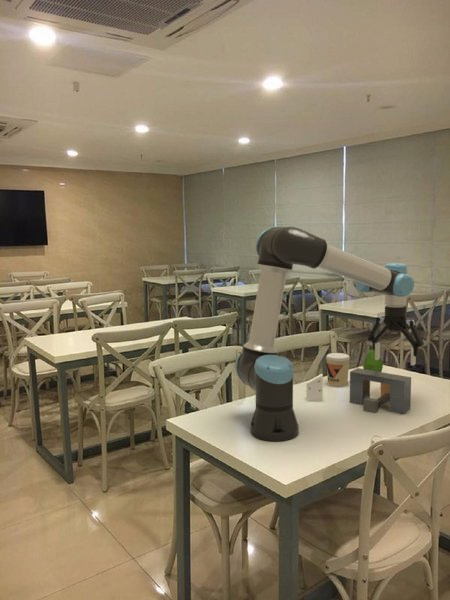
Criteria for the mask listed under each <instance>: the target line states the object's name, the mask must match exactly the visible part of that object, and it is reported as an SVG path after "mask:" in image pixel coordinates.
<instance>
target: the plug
mask: <svg viewBox="0 0 450 600" xmlns="http://www.w3.org/2000/svg"><path fill="white" fill-rule="evenodd" d="M379 396H380V397H378V398H373V397H370V398H369V397H367V398H365V399H363V405H362V409H363V411H364V412H367V413H373V414H375V413H377V412H378V411H379V408H381V407H382V406H384V405H385V404H387V403H388V402H389V403H390V384H384V383H380V395H379Z"/></svg>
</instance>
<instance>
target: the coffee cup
mask: <svg viewBox="0 0 450 600" xmlns="http://www.w3.org/2000/svg"><path fill="white" fill-rule="evenodd" d="M325 358H326V359H325V360H326V374H327V377H326V378H327V385H328V384H329V386H331V387H334V388H335V387H336V388H343V387H347V385H348V381H349V370H350V369H349V368H350V355H348V354H347V353H342V352H331V353H328V354H327V355H326V357H325Z"/></svg>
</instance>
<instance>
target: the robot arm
mask: <svg viewBox="0 0 450 600" xmlns="http://www.w3.org/2000/svg"><path fill="white" fill-rule="evenodd" d="M255 242H256V243H255V252H256V253H257V255H258V260H257V266H258V268H259V270H260V276H259V281H258V287H257V291H256V292H257V293H256V298H255V305H254V309H253V310H254V311H253V316H252V322H251V328H250V331H249V332H250V333H249V339H248V341H246V342H245V343H244V344H243V346H242V351H241V352H240V353H239V354H238V356H237V358H236V359H235V364H234V368H235V373H236V375H237V377H238V378H239V380H241V381H242V383H243V384H245V385H246V386H248V387H249V388H251V389H252V390H253V391H254V392H255V393H254V394H255V409H254V411H253V415H252V419H251V422H250V434H251V435H252V436H253V437H255V438H256V439H259V440H263V441H270V442H283V441H288V440H291V439H294V438H296V437H297V436H298V435H299V431H300V428H299V427H300V425H299V422H298V420H297V417H296V414H295V410H294V368H293V363H292V362H291V360H290V359H288V358H287V357H284V356H282V355H278V349H277V348H276V347H275V343H276V342H275V341H276V336H277V329H278V325H279V319H280V314H281V309H282V301H283V297H284V292H285V285H286V279H287V276H288V275H289V274H290V273H291V272H292V271H293V267H294V265H297V266H298V265H299V266H305V267H308V268H311V269H313V270H314V269H317V268H320V269H322V270H326V271H328V272H331V273H333V274H336V275H339V276H341V277H344V278H347V279H349V280H352V281H353V282H354V284H355V285H354V286H355V287H356V288H355V289H357V291H358V292H359V293H377V294H384V317H382V316H378V317H376V318H375V324H374V326H373V328H372V330H371V331H370V333H369V336H368V338H367V340H368V341H370V342H372V350H373V351H375V360H378V359H380V357H381V341H379V340H380V339H381V338H382V337H383V336H384V335H385V334H387V332H388V331H391V332H393V331H395V332H401V333H402V335H404V337H405V338H406V339H407V341H408V342H409V344H411V346H412V347H410V366H415V365H416V361H417V360H416V359H417V358H416V357H418V356H419V349H420V348H421V347H423V346H424V345H425V342H424V340H423V339H422V336H421V334H420V332H419V330H418V328H417V326H416V325H417V324H416V320H415V319H410V320H408V319H407V306H406V305H407V297H408V296H409V295H411V294H412V292H413V291H414V288H415V281H414V279H413V277H412V276H411V275H409V274H408V268H407V264H405V263H402V262H401V263H399V262H398V263H397V262H396V263H395V262H394V263H393V262H392V263H391V262H390V263H386V264H385V267H384V266H382V265H379V264H376V263H375V262H372V261H369V260H367V259H364V258H362V257H360V256H357V255H355V254H352V253H349V252H347V251H345V250H342V249H339V248H338V247H335V246H332V245H329V243H328V241H327V240H326V239H324V238H321V237H319V236H317V235H316V234H312V233H310V232H309V231H307V230H303V229H302V228H299V227H295V226H274V227H270V228H267V229H265V230H264V231H262V232H261V233H260V234H259V236H258V237H257V238H256V241H255ZM383 323H384V324H385V326H384V327H383V328H382V329H381V330H380V332H378V331H379V329H380V327H381V325H382V324H383ZM406 326H409V328H410V329H408V328H407V327H406ZM409 330H410V331H411V332H410V331H409ZM376 334H377V335H376Z"/></svg>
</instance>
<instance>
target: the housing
mask: <svg viewBox="0 0 450 600" xmlns="http://www.w3.org/2000/svg"><path fill="white" fill-rule="evenodd" d="M371 382H374V383H380V384H381V383H384V384H390V401H389V412H392V413H396V414H400V415H405V414H406V413H408V412H409V411H411V403H412V402H411V401H412V377H411V376H405V375H399V374H394V373H388V372H382V371H381V372H377V371H371V370H366V369H363V368H360V367H359V368H358V367H357V368H355V369H352V370H351V371H350V372H349V403H352V404H356V405H360V406H363V399H365V398H367V397H369V398H371Z"/></svg>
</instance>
